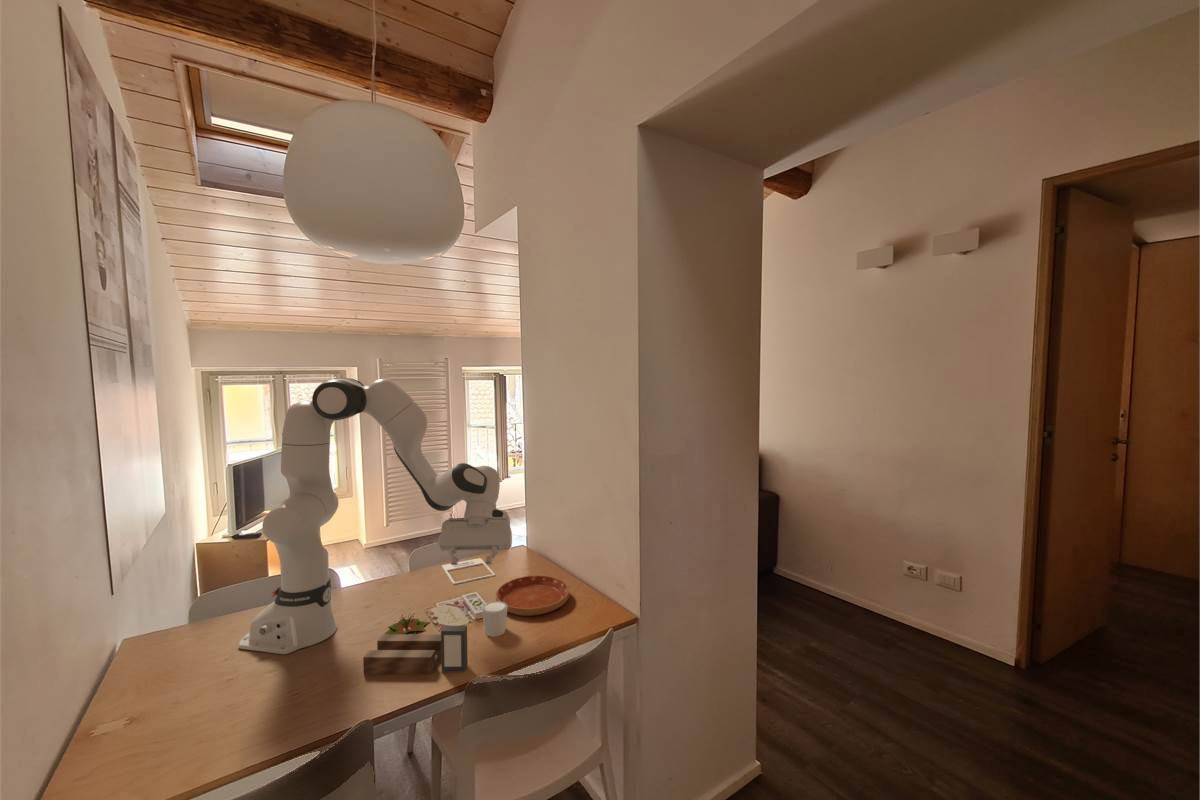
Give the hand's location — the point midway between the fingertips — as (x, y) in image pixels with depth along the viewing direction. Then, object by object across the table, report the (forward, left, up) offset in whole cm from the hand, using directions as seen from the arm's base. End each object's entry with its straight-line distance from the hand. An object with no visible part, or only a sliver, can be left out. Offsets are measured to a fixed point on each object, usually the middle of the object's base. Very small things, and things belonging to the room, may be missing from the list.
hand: (471, 564), depth 128 cm
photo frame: (-13, +43, -20) cm, 49 cm away
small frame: (0, -15, -20) cm, 25 cm away
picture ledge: (-13, -12, -20) cm, 27 cm away
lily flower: (-19, +3, -20) cm, 28 cm away
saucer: (+14, +20, -20) cm, 32 cm away
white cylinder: (+6, +2, -20) cm, 21 cm away
